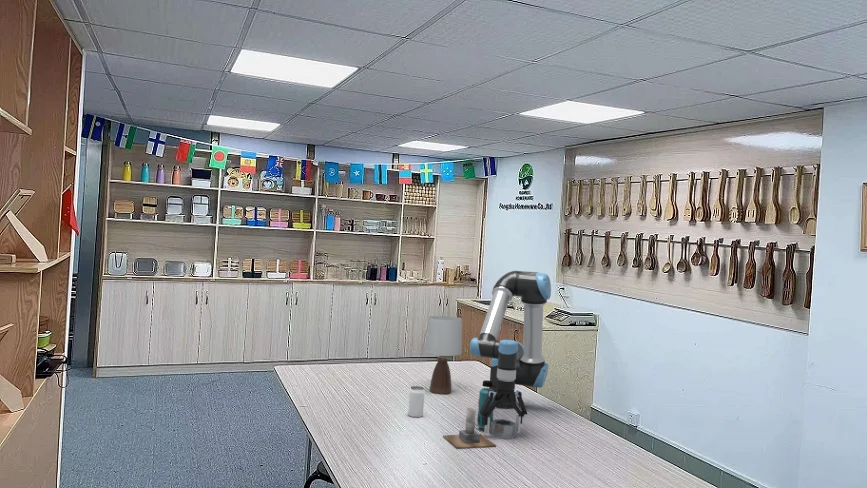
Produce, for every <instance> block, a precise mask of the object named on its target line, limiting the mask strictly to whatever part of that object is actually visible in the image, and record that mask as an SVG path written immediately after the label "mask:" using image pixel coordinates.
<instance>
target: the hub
mask: <svg viewBox="0 0 867 488" xmlns="http://www.w3.org/2000/svg"><path fill="white" fill-rule="evenodd" d="M515 423H516V422H514V421H512V420H507V419H503V418H502V419H501V418H500V419H493V420H492V421H491V426H490V428H489V435H490V436H492V437H493V438H497V439H502V440H505V439H506V440H509V439H513V438H514V437H515V433H516V431H515Z"/></svg>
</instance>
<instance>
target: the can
mask: <svg viewBox="0 0 867 488" xmlns="http://www.w3.org/2000/svg"><path fill="white" fill-rule="evenodd" d="M408 397H409V398H408V409H407V410H408V411H407V415H408V416H409V417H411V418H421V417H423V416H424V406H425V405H424V404H425V389H424V387H423V386H418V385H414V386H410V389H409V393H408Z"/></svg>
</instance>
